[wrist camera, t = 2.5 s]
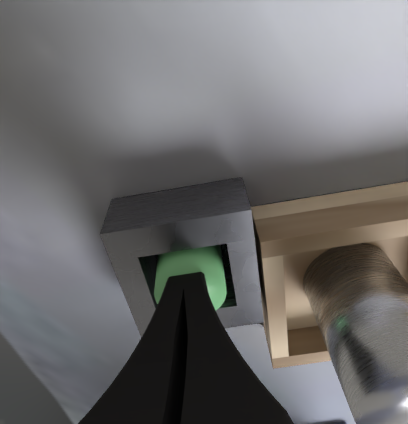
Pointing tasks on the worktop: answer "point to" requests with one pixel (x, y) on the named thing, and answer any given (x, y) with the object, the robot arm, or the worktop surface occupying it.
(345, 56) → the worktop surface
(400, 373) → the seated billet
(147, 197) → the grey square socket block
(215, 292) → the button
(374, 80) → the worktop surface
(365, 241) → the wooden compartment tray
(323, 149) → the worktop surface
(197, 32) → the worktop surface
